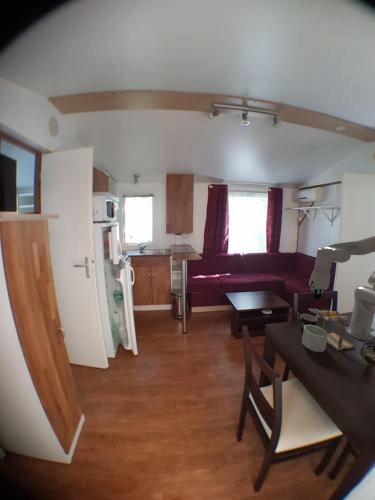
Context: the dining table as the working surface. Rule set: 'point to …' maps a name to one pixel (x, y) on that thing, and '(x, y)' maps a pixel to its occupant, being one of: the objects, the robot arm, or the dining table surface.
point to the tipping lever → (327, 317)
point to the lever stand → (338, 338)
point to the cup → (314, 338)
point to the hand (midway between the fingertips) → (316, 299)
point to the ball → (333, 313)
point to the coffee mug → (307, 320)
